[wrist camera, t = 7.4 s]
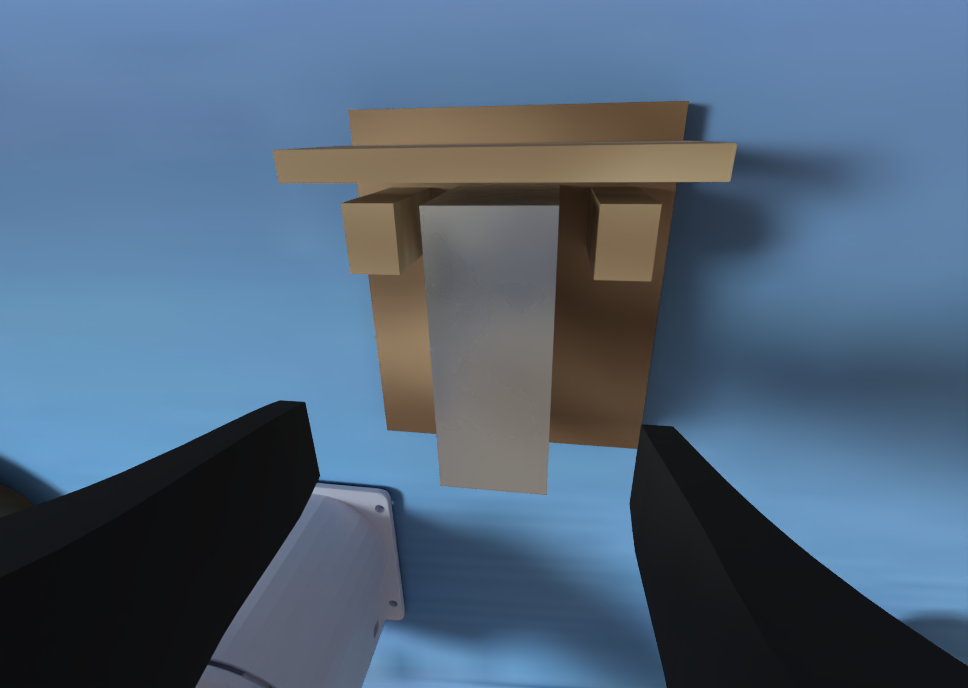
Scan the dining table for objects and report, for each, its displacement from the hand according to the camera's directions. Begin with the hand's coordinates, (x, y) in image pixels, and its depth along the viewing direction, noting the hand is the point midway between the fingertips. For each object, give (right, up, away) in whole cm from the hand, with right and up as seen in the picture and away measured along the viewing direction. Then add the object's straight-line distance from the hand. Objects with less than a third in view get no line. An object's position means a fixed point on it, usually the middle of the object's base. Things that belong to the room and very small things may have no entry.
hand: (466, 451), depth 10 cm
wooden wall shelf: (+1, +4, +8) cm, 10 cm away
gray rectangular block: (+1, +4, +8) cm, 9 cm away
